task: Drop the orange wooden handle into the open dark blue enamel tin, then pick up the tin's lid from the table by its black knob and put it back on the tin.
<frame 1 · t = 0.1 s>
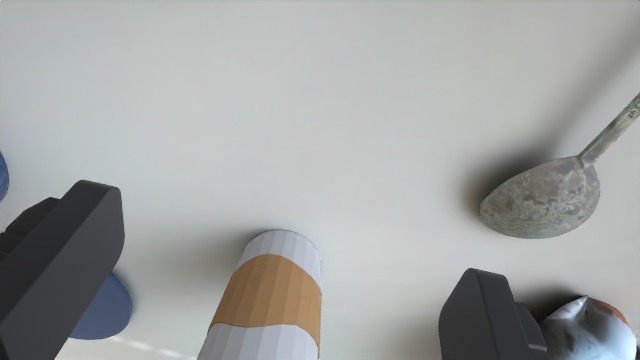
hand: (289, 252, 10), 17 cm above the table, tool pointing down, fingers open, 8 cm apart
coffee cup: (284, 254, 35), on the table
lucky cat figurine: (554, 338, 38), on the table
tin lid: (59, 291, 40), point 1 cm above the table
soupspoon: (612, 104, 25), on the table
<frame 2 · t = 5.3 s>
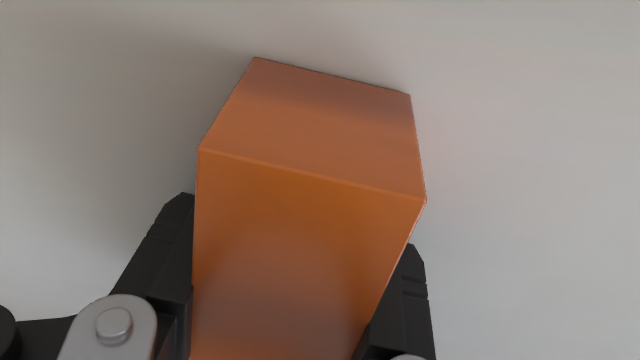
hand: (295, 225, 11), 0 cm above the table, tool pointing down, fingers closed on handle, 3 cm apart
handle: (297, 220, 11), on the table, touching gripper
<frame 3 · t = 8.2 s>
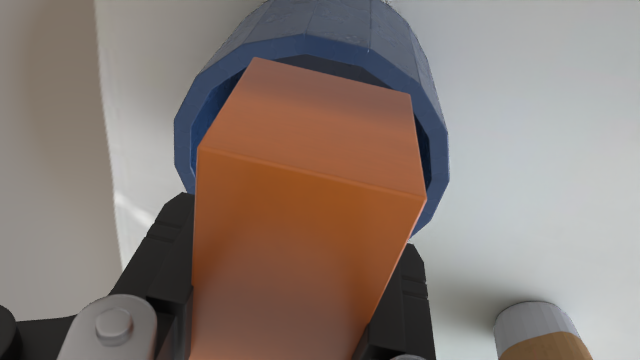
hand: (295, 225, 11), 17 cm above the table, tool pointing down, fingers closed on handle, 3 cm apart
coffee cup: (529, 320, 38), on the table
handle: (297, 220, 11), point 17 cm above the table, touching gripper
tin: (325, 91, 27), on the table
when the fingers open (7 cm above the table, at t = 11.5 s): handle drops 6 cm, resting on tin.
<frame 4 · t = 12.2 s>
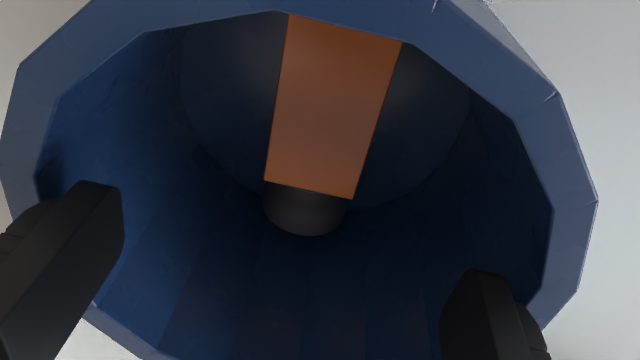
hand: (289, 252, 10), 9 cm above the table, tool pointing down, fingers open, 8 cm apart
handle: (326, 101, 17), point 1 cm above the table, touching tin
tin: (322, 97, 17), on the table
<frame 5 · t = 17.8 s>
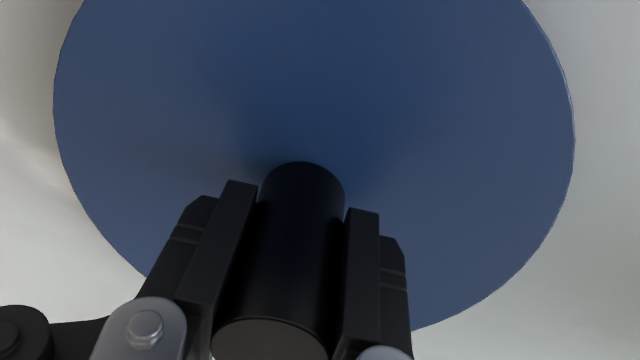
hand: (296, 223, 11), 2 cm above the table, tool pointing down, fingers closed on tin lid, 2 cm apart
tin lid: (305, 184, 12), point 1 cm above the table, touching gripper
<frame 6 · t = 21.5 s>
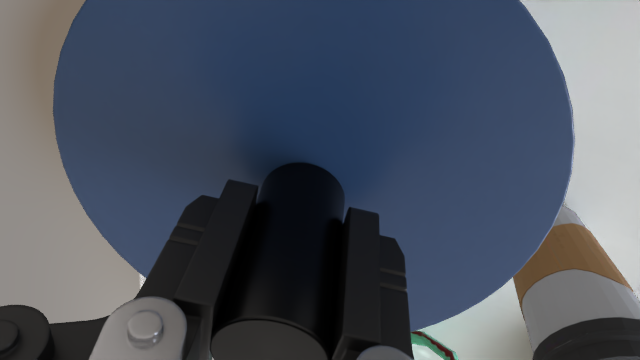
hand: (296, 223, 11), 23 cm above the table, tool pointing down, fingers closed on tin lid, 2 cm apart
mug: (390, 324, 50), on the table
coffee cup: (538, 225, 39), on the table
tin lid: (305, 185, 12), point 21 cm above the table, touching gripper
when the fingers open (11 cm above the table, at t = 25.2 s): tin lid stays where it is, resting on tin.
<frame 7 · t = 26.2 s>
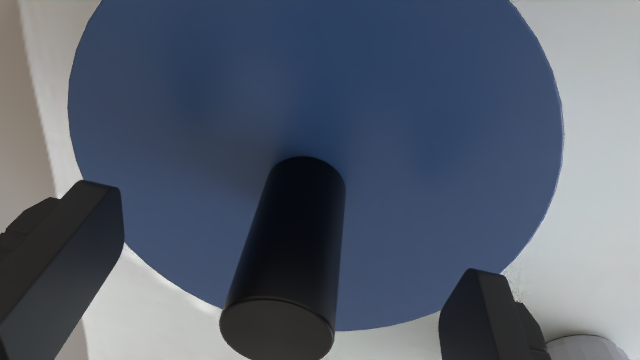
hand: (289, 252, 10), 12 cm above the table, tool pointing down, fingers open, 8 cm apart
coffee cup: (573, 356, 31), on the table
tin lid: (308, 178, 13), point 9 cm above the table, touching tin
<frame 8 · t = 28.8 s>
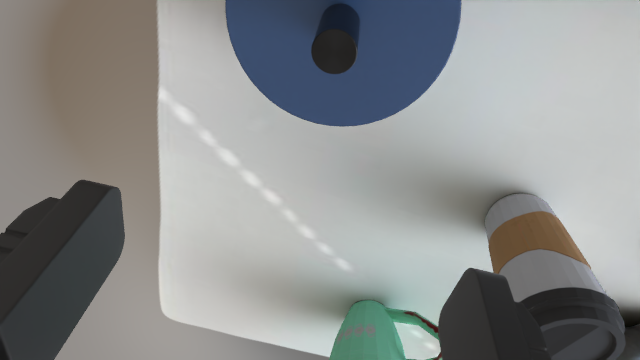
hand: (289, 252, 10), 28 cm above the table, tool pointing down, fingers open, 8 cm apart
mug: (386, 306, 55), on the table
coffee cup: (515, 214, 44), on the table
lucky cat figurine: (603, 339, 54), on the table
tin lid: (340, 21, 25), point 9 cm above the table, touching tin
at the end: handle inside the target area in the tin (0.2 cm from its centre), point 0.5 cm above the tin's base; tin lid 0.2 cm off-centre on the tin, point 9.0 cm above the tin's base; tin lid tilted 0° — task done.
